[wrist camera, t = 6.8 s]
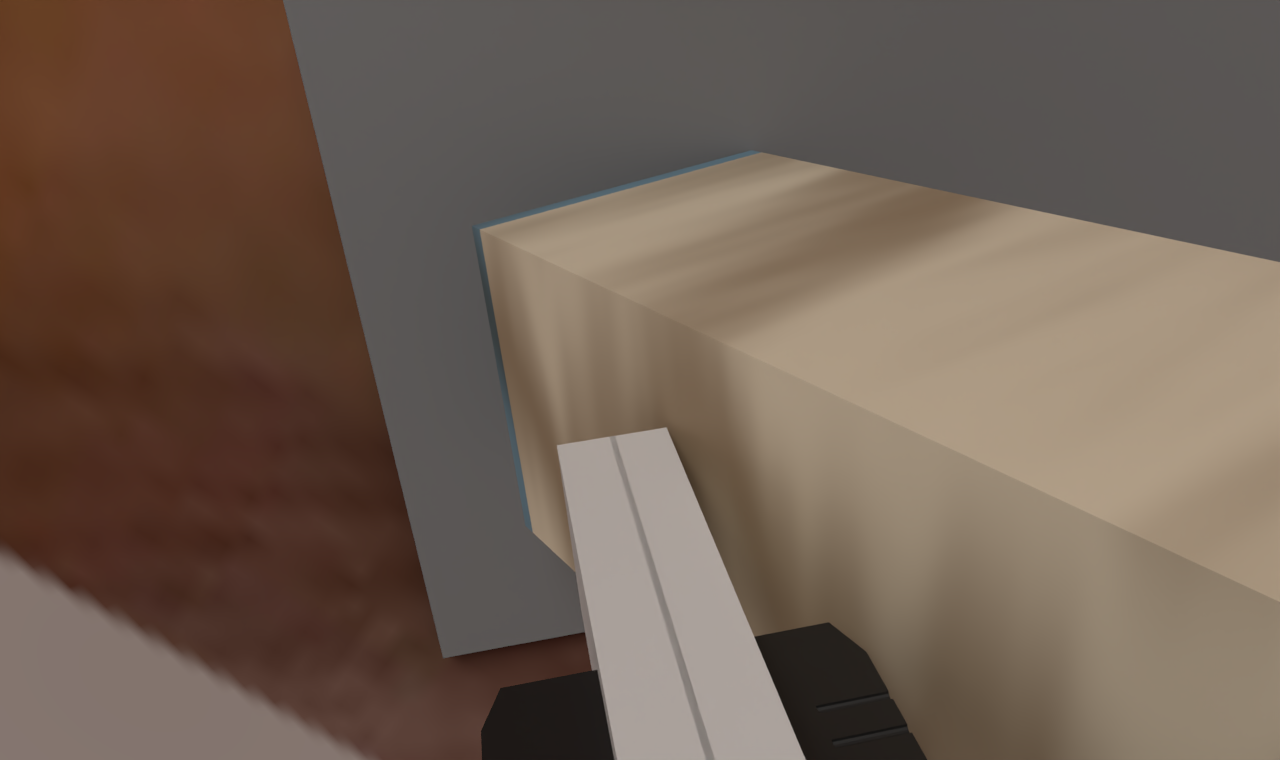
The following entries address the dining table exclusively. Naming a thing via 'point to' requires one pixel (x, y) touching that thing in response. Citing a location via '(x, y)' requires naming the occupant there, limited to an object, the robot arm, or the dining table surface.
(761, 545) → the beech block
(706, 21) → the rubber mat
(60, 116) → the dining table surface
